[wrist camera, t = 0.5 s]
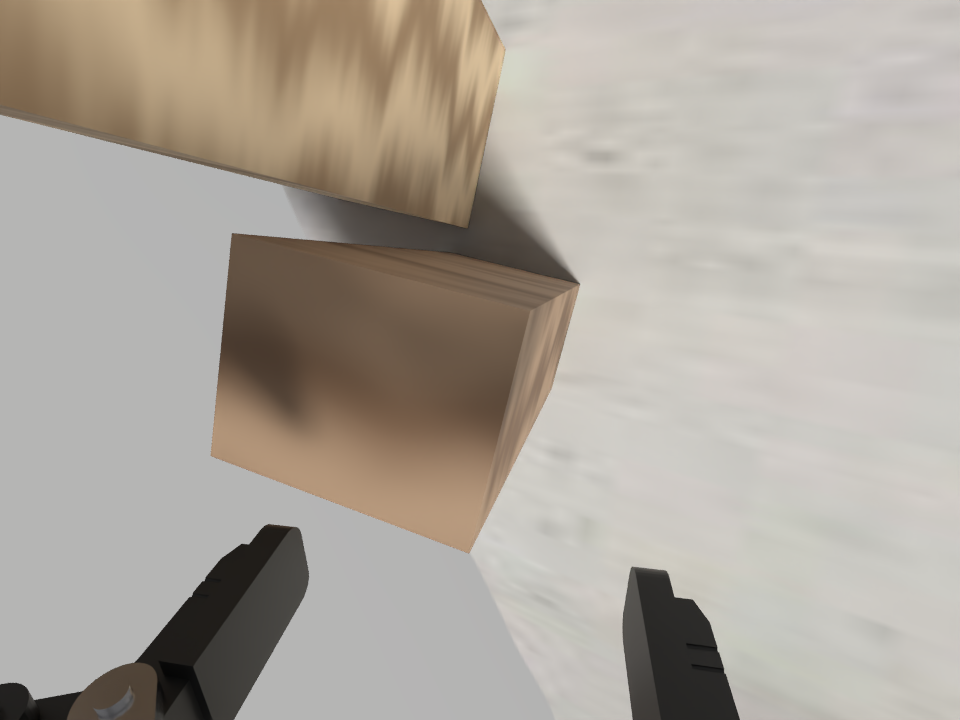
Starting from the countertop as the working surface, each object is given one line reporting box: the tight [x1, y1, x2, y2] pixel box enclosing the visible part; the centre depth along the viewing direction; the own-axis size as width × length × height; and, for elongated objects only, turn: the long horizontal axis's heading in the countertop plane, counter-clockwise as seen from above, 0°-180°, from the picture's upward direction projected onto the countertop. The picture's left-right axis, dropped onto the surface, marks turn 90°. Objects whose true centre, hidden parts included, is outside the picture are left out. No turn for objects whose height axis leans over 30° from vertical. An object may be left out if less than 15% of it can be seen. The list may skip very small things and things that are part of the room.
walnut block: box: [211, 233, 580, 553], centre depth 26 cm, size 8×10×22 cm
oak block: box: [0, 0, 505, 228], centre depth 20 cm, size 12×11×32 cm
